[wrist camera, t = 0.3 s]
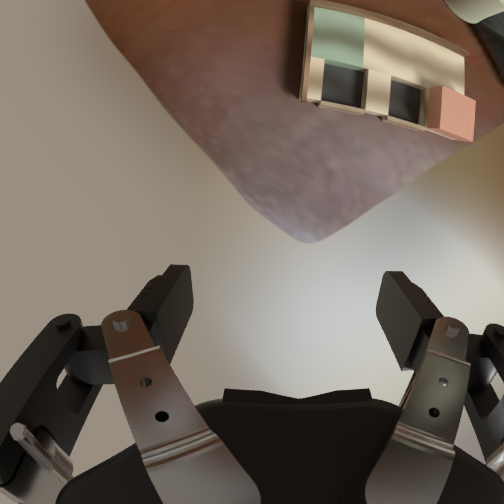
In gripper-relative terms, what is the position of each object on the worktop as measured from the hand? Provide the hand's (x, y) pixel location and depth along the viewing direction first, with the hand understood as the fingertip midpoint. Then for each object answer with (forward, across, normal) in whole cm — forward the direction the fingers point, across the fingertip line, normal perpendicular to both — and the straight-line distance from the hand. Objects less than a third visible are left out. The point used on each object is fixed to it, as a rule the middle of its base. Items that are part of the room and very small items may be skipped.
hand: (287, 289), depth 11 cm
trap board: (+28, -15, -17) cm, 36 cm away
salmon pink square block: (+26, -23, -12) cm, 37 cm away
